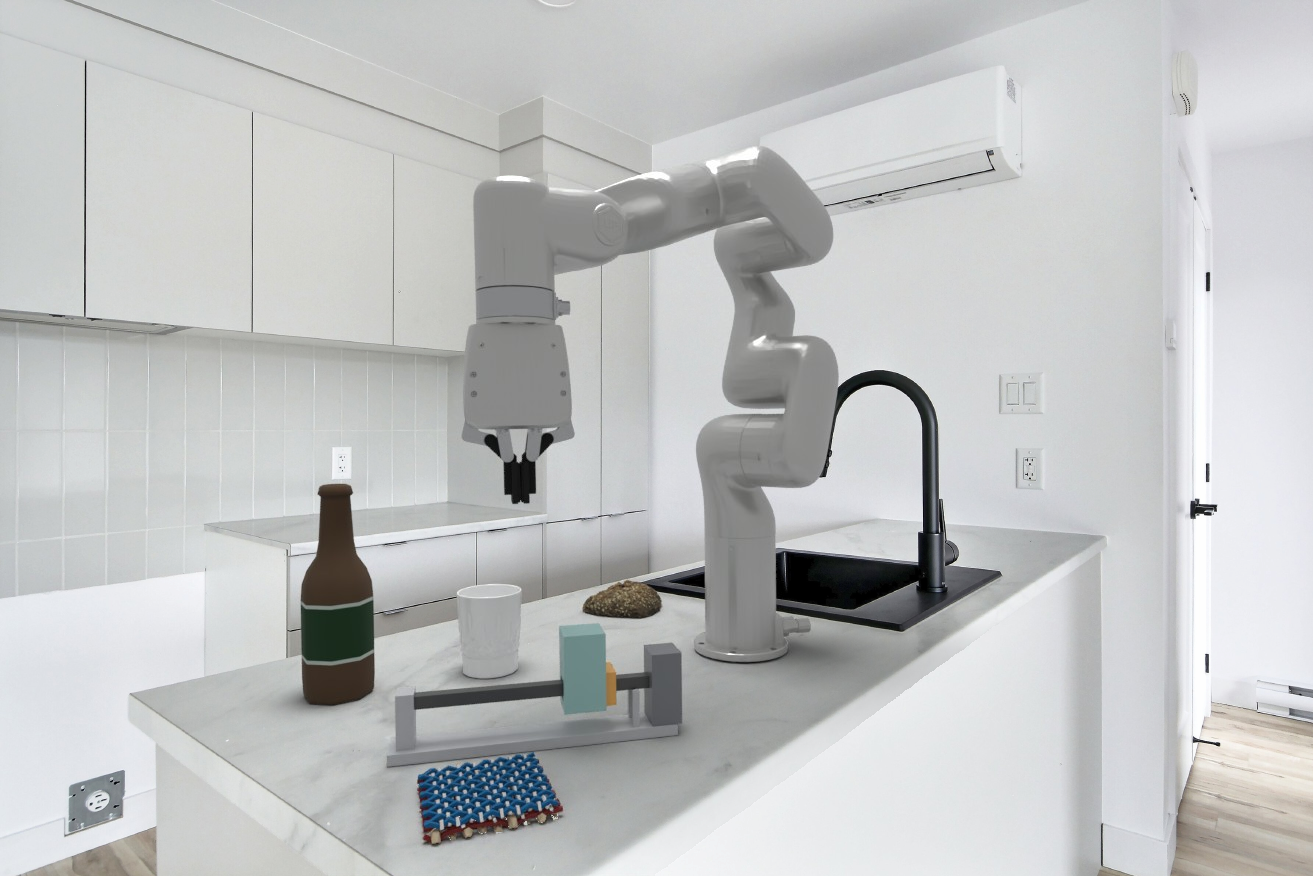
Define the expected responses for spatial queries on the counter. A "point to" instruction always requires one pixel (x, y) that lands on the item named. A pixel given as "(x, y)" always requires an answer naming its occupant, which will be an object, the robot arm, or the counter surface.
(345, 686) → the beer bottle
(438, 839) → the woven mat
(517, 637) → the white cup
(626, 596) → the bread roll
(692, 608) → the counter surface
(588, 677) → the teal sliding block
